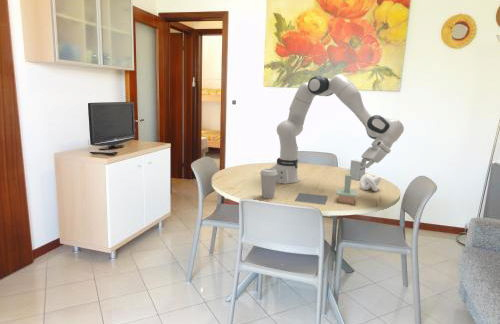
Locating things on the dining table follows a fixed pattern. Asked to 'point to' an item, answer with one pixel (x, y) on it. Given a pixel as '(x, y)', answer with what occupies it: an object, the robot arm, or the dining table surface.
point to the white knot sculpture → (369, 182)
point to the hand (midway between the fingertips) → (363, 166)
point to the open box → (346, 199)
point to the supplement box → (357, 169)
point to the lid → (347, 188)
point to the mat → (311, 198)
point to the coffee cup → (268, 182)
